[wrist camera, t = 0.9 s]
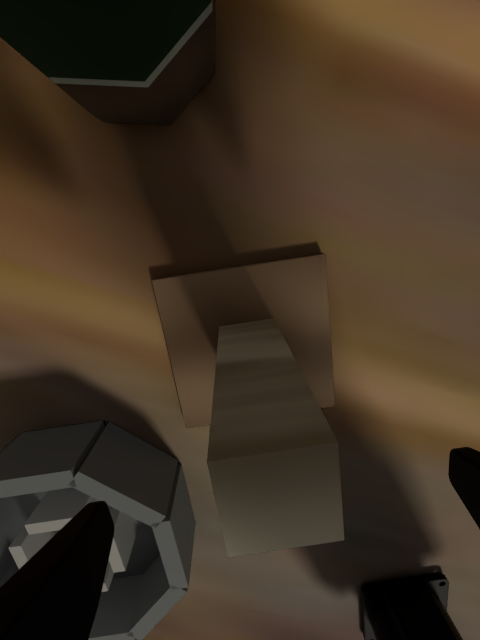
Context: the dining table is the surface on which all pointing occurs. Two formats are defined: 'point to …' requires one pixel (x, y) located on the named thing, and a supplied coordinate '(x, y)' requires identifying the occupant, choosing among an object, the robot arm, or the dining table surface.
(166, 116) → the beer bottle
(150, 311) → the dining table surface
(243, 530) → the square wooden post
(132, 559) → the bowl
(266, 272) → the coaster
